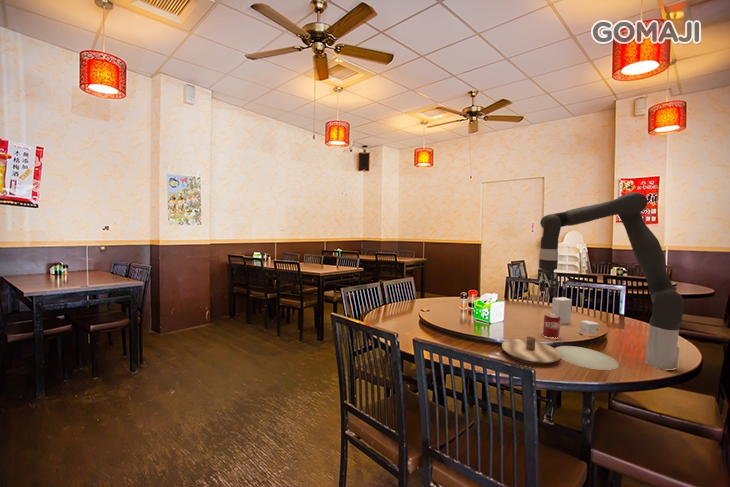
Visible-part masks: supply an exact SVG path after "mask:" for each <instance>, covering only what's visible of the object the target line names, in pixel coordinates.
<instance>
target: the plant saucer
mask: <svg viewBox="0 0 730 487" xmlns="http://www.w3.org/2000/svg"><path fill="white" fill-rule="evenodd" d="M507 354H508V355H509V356H510V357H511V358H512V359H514V360H515V361H517V362H519V363H523V364H527V365H540V366H544V365H549V364H552V363H553V362H547V363H544V362H533V361H528V360H524V359H521V358H518V357H515V356H513V355H511V354H509V353H507Z"/></svg>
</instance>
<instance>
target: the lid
mask: <svg viewBox="0 0 730 487" xmlns="http://www.w3.org/2000/svg"><path fill="white" fill-rule="evenodd" d="M501 347H502V349H503V351H504V352H506V353H507V354H508V353H509V354H511V355H513V356H515V357H518V358H521V359H524V360H528V361H533V362H544V363H547V362H552V363H555V362H557V361H559V360H560V357H561V354H560V352H559V351H558V350H556V349H555V348H556V347H553V346H551V345H549V344H546V343H544V342H539V341H536V338H535V337H533V336H526V339H522V338H521V339H520V338H514V339H513V338H512V339H507V340H505V341H503V342H502V343H501ZM509 354H508V355H509Z"/></svg>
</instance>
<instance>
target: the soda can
mask: <svg viewBox="0 0 730 487" xmlns="http://www.w3.org/2000/svg"><path fill="white" fill-rule="evenodd" d="M560 319H561V318H560V316H559V315H556V314H552V312H551V313H549V312H547V313H545V314H544V315H543V325H542V326H543V327H542V336H543V335H544V336H547V337H554V338H555V337H556V338H557V337H559V338H560V329H561V325H560Z"/></svg>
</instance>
